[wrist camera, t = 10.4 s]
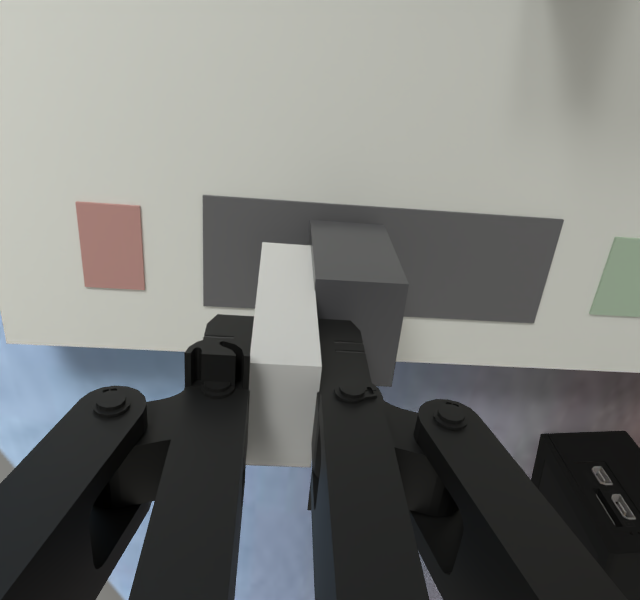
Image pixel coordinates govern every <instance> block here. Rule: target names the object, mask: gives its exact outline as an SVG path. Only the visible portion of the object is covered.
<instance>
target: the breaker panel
mask: <svg viewBox="0 0 640 600" xmlns="http://www.w3.org/2000/svg"><path fill="white" fill-rule="evenodd" d="M310 220H319V221H335V222H350V223H365V224H381V225H385V228H386V230H387V232H388V235H389V237H390V240H391V242H392V244H393V247H394V249H395V252H396V254H397V256H398V259H399V261H400V264H401V266H402V268H403V271H404V273H405V276H406V278H407V281H408V283H409V287H408V293H407V299H406V305H405V311H404V317H403V322H402V328H401V334H400V340H399V346H398V351H397V357H396V362H416V363H438V364H459V365H481V366H503V367H524V368H546V369H567V370H589V371H610V372H632V373H640V0H0V311H1V316H2V321H3V327H4V332H5V337H6V342H7V344H28V345H49V346H71V347H92V348H114V349H136V350H157V351H179V352H186V350H187V349H188V347H189V346H191V345H192V344H194V343H196V342H197V341H201V340H203V337H204V333H205V329H206V325H207V323H208V322H209V321H210V320H212V319H213V318H214V317H215V316H216V315H217V314H223V315H240V316H254V314H255V304H256V295H257V286H258V277H259V268H260V259H261V250H262V242H267V243H282V244H296V245H308V241H309V229H310Z"/></svg>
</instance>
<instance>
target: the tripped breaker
mask: <svg viewBox="0 0 640 600" xmlns="http://www.w3.org/2000/svg"><path fill="white" fill-rule="evenodd" d="M308 245H311V254H312V266H313V278H314V290H315V294H316V305H317V317H318V319H333V320H351V321H352V322H353V323H354V325H355V326H356V327H357V328H358V329H359V330H360V331H361V335H362V340H363V345H364V349H365V354H366V359H367V363H368V368H369V373H370V377H371V382H372V384H374V385H375V386H388V387H391V386H392V381H393V375H394V369H395V363H396V357H397V351H398V346H399V340H400V334H401V328H402V322H403V317H404V311H405V305H406V299H407V293H408V287H409V283H408V281H407V278H406V276H405V273H404V271H403V268H402V266H401V264H400V261H399V259H398V256H397V254H396V252H395V249H394V247H393V244H392V242H391V240H390V237H389V235H388V232H387V230H386V228H385V225H381V224H365V223H350V222H335V221H319V220H310V229H309V241H308Z"/></svg>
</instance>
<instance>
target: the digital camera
mask: <svg viewBox="0 0 640 600" xmlns="http://www.w3.org/2000/svg"><path fill="white" fill-rule="evenodd" d="M549 437H550V438H549ZM552 442H553V443H552ZM554 445H555V446H554ZM555 447H556V448H555ZM558 452H559V453H558ZM561 457H562V458H561ZM564 462H565V463H564ZM567 467H568V468H567ZM570 472H571V473H570ZM573 477H574V478H573ZM531 481H532V482H533V483H534V485H535V486H536V487H537V488H538V490H539V491H540V492H541V493H542V495H543V496H544V497H545V498H546V500H547V501H548V502H549V503H550V504H551V506H552V507H553V508H554V509H555V511H556V512H557V513H558V514H559V516H560V517H561V518H562V519H563V520H564V522H565V523H566V524H567V525H568V527H569V528H570V529H571V530H572V532H573V533H574V534H575V535H576V537H577V538H578V539H579V540H580V541H581V543H582V544H583V545H584V546H585V548H586V549H587V550H588V551H589V553H590V554H591V555H592V556H593V557H594V559H595V560H596V561H597V562H598V564H599V565H600V566H601V567H602V569H603V570H604V571H605V572H606V574H607V575H608V576H609V577H610V578H611V580H612V581H613V582H614V583H615V585H616V586H617V587H618V588H619V590H620V591H621V592H622V593H623V595H624V596H625V597H626V598H627V599H628V600H640V448H639V447H638V446H637V444H636V443H635V442H634V441H633V439H632V438H631V437H630V436H629V434H628V433H627V432H626V431H607V432H580V433H554V434H541V437H540V441H539V446H538V451H537V455H536V460H535V465H534V470H533V474H532V479H531ZM576 482H577V483H576ZM579 487H580V488H579Z"/></svg>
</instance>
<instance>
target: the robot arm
mask: <svg viewBox="0 0 640 600" xmlns="http://www.w3.org/2000/svg"><path fill="white" fill-rule="evenodd" d="M311 460H312V475H311V483H310V492H309V501H308V510H311V513H312V537H313V562H314V587H315V600H429V596H428V592H427V588H426V583H425V579H424V575H423V570H422V566H421V562H420V557H419V553H420V555H421V557H422V559H423V561H424V563H425V565H426V567H427V569H428V571H429V572H430V574H431V576H432V578H433V580H434V582H435V584H436V586H437V588H438V590H439V592H440V594H441V596H442V598H443V600H628V599H627V598H626V597H625V596H624V595H623V593H622V592H621V591H620V590H619V588H618V587H617V586H616V585H615V583H614V582H613V581H612V580H611V578H610V577H609V576H608V575H607V574H606V572H605V571H604V570H603V569H602V567H601V566H600V565H599V564H598V562H597V561H596V560H595V559H594V557H593V556H592V555H591V554H590V553H589V551H588V550H587V549H586V548H585V546H584V545H583V544H582V543H581V541H580V540H579V539H578V538H577V537H576V535H575V534H574V533H573V532H572V530H571V529H570V528H569V527H568V525H567V524H566V523H565V522H564V520H563V519H562V518H561V517H560V516H559V514H558V513H557V512H556V511H555V509H554V508H553V507H552V506H551V504H550V503H549V502H548V501H547V500H546V498H545V497H544V496H543V495H542V493H541V492H540V491H539V490H538V488H537V487H536V486H535V485H534V483H533V482H532V481H531V480H530V479H529V477H528V476H527V475H526V474H525V472H524V471H523V470H522V469H521V467H520V466H519V465H518V464H517V462H516V461H515V460H514V459H513V458H512V456H511V455H510V454H509V453H508V451H507V450H506V449H505V448H504V446H503V445H502V444H501V443H500V442H499V440H498V439H497V438H496V437H495V435H494V434H493V433H492V432H491V430H490V429H489V428H488V427H487V425H486V424H485V423H484V422H483V421H482V419H481V418H480V417H479V416H478V415H477V414H476V413H475V412H474V411H473V410H472V409H471V408H469V407H467V406H465V405H463V404H461V403H459V402H455V401H451V400H444V399H435V400H431V401H428V402H425V403H424V404H423V405H422V406H421V407H420V408H419V412H418V413H416V412H412V411H408V410H404V409H401V408H398V407H395V406H393V405H391V404H389V403H387V402H385V401H384V400H383V397H382V394H381V392H380V390H379V389H378V388H377V387H376V386H375V385H374V384H372V382H371V377H370V373H369V368H368V363H367V359H366V354H365V349H364V345H363V340H362V335H361V331H360V330H359V329H358V328H357V327H356V326H355V325H354V323H353V322H352V321H351V320H333V319H318V317H317V305H316V294H315V290H314V278H313V266H312V254H311V245H296V244H282V243H267V242H262V250H261V259H260V268H259V277H258V286H257V295H256V304H255V314H254V316H240V315H223V314H217V315H216V316H215V317H214V318H213V319H212V320H210V321H209V322H208V323H207V325H206V329H205V333H204V337H203V340H201V341H197V342H196V343H194V344H192V345H191V346H189V347H188V349H187V350H186V352H185V389H184V391H182V392H181V393H179V394H177V395H175V396H172V397H170V398H166V399H161V400H156V401H150V402H146V400H145V396H144V395H143V394H142V393H140V392H139V391H138V390H136V389H133V388H130V387H126V386H110V387H103V388H100V389H97V390H94V391H92V392H89V393H88V394H87V395H85V396H84V397H83V398H81V399H80V400H79V401H78V402H77V403H76V404H75V405H74V406H73V407H72V409H71V410H70V411H69V412H68V413H67V414H66V415H65V416H64V417H63V418H62V419H61V420H60V421H59V422H58V423H57V424H56V425H55V426H54V428H53V429H52V430H51V431H50V432H49V433H48V434H47V435H46V436H45V437H44V438H43V439H42V440H41V441H40V442H39V443H38V444H37V445H36V447H35V448H34V449H33V450H32V451H31V452H30V453H29V454H28V455H27V456H26V457H25V458H24V459H23V460H22V461H21V462H20V463H19V464H18V466H17V467H16V468H15V469H14V470H13V471H12V472H11V473H10V474H9V475H8V476H7V478H5V479H4V480H3V481H2V482H1V483H0V600H96V598H97V596H98V595H99V593H100V591H101V590H102V588H103V586H104V585H105V583H106V581H107V580H108V578H109V576H110V575H111V573H112V571H113V569H114V568H115V566H116V564H117V563H118V561H119V559H120V558H121V556H122V554H123V553H124V551H125V549H126V548H127V546H128V544H129V543H130V541H131V539H132V538H133V536H134V534H135V533H136V531H137V529H138V528H139V526H140V524H141V523H142V521H143V519H144V518H145V516H146V514H147V512H148V511H149V508H150V505H151V502H152V501H155V502H154V506H153V510H152V513H151V517H150V521H149V525H148V528H147V532H146V536H145V540H144V544H143V547H142V551H141V555H140V559H139V562H138V566H137V570H136V574H135V577H134V581H133V585H132V589H131V593H130V596H129V600H234V597H235V586H236V574H237V563H238V552H239V541H240V530H241V518H242V507H243V496H244V485H245V465H258V466H285V467H311ZM418 551H419V553H418Z"/></svg>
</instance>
